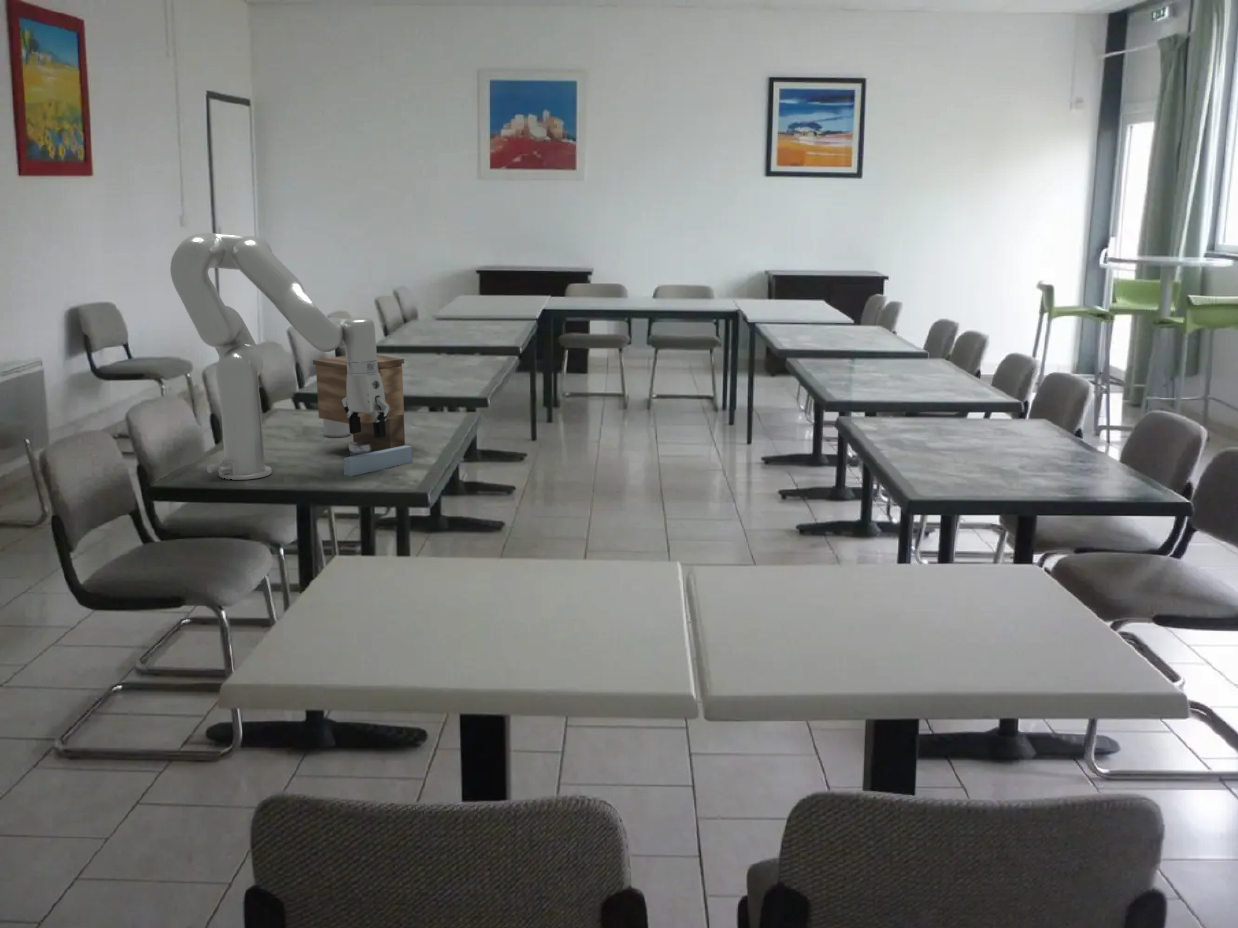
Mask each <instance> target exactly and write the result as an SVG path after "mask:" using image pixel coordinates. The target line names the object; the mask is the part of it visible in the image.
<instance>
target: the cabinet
mask: <svg viewBox="0 0 1238 928" xmlns="http://www.w3.org/2000/svg"><path fill="white" fill-rule="evenodd" d="M377 364H378V373H380V376H381V379H382V384H383V389H384V395H385V402H386V403H387V404H388V405H389V411H388V416H387V417H386V421H385V430H386V436H385V437H380V438H375V437H374V426H373V422H375V420H374V419H373V417H372V415H371V414H364V413H359V415H358V416H359V417H360V422H361V432H359V433H354V434H352V440H353V441H352V442H355V441H369V442H372V451H374V452H375V451H380V450H385V449H390V448H395V447H400V446H404V445H406V439H405V438H406V436H405V417H404V415H405V409H404V408H405V405H404V381H403V380H404V379H403V366H402V364H405V358H400V357H393V356H387V355H386V356H385V355H379V354H377ZM312 365H315V372H316V373H315V374H316V390H317V392H316V393H317V408H318V419H327V420H332V421H337V422H342V423H347V424H349V418H347V413H346V412H345V410H344V408H345V407H344V405H343V403H342V399H344V398H345V397H346V396H347V390H346V389H347V362H346V355H339V356H333V357H326V358H319V359H318V358H316V359H312ZM378 415H379V413H378V414H377V416H378ZM358 416H357V417H358Z"/></svg>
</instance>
